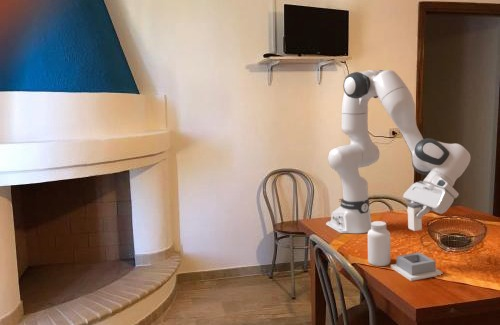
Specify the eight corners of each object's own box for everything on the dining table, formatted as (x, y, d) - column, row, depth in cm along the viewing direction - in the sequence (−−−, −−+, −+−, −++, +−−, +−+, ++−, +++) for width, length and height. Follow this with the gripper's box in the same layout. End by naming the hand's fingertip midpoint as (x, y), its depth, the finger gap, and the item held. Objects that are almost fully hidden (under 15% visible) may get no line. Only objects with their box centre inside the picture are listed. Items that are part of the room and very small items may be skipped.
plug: (408, 228, 154) (407, 203, 153) (415, 227, 155) (414, 202, 154) (414, 230, 151) (413, 205, 150) (421, 229, 152) (421, 204, 150)
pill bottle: (387, 268, 154) (386, 227, 151) (365, 264, 158) (363, 225, 156) (393, 260, 160) (392, 220, 158) (371, 257, 165) (370, 218, 162)
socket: (390, 267, 154) (390, 255, 153) (420, 262, 157) (420, 250, 156) (410, 280, 143) (410, 268, 142) (442, 274, 145) (442, 262, 145)
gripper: (413, 175, 162) (390, 204, 161) (450, 184, 143) (425, 217, 142) (423, 185, 164) (401, 214, 163) (462, 195, 144) (437, 228, 143)
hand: (413, 215), depth 152 cm, fingers closed on plug, 3 cm apart
